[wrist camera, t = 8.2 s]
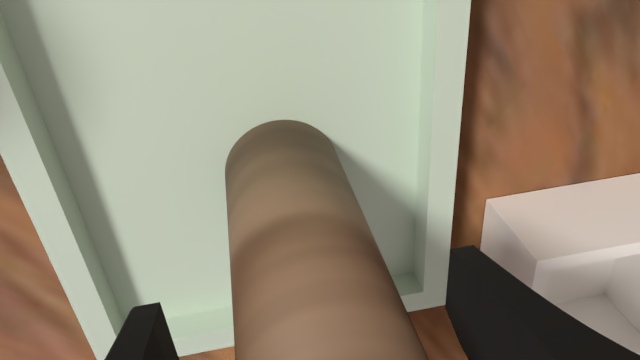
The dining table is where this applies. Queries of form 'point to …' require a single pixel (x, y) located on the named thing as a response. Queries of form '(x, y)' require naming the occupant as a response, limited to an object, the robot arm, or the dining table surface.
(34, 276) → the dining table surface
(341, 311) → the walnut dowel
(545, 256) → the square cup
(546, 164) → the dining table surface
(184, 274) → the tray
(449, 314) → the robot arm
